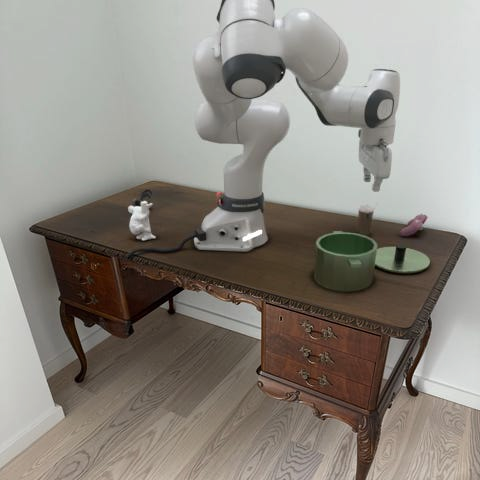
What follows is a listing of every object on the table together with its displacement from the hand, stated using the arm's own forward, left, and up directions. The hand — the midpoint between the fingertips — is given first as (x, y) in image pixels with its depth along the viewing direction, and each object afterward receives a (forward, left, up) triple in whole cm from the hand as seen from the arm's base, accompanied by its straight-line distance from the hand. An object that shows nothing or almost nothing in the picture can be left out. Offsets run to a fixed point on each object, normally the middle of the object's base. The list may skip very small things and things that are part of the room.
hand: (371, 186), depth 135 cm
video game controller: (+15, 0, -15) cm, 21 cm away
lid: (+4, -20, -15) cm, 25 cm away
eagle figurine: (-72, +32, -15) cm, 80 cm away
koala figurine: (-68, +4, -15) cm, 70 cm away
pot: (-13, -28, -15) cm, 34 cm away
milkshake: (0, 0, -15) cm, 15 cm away
